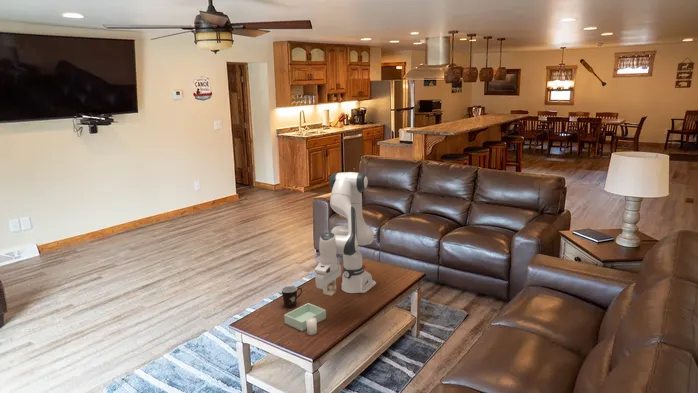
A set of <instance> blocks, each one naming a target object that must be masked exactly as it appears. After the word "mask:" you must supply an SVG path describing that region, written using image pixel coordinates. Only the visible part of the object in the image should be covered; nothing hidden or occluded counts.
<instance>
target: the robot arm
mask: <svg viewBox="0 0 698 393" xmlns="http://www.w3.org/2000/svg"><path fill="white" fill-rule="evenodd" d="M328 183H329V188H330V189H331V193H330V198H329V199H330V200H329V205H330V208H331V209H332V210H333V212H335V213H336V214H337V215H340V216H342V217H344V218H345V219H346V220H347V225H338V226H334V227H333V228H332V229H331V231H330V232H329V231H328V232H325V233H321V235H320V236H319V244H318V247H319V248H318V252H319V262H318V264H317V265H316V267H315V268H314V273H315V278H314V280H315V287H316V288H317V289H321V290H323V289H324V292H325V293H327V292H328V289H327V285H328V284H330V283H331V282H335V283H337V279H338V278H339V277H341V275H342V278H341V279H342V282H341V284H340V285H341V290H342V291H343V292H345V293H348V294H358V293H360V294H361V293H362V294H363V293H368V292H369V291H370V289H372V288H373V287H374V286H376V284H377V282H376V281H375V280H373V277H372V274H371V273H369V272H368V271H366V270H365V269H367V268H368V265H367V264H363V255H362V253H361V251H360V250H359V249H358V248H359V246H368V245H371V244H372V243H373V242H374V240H375V232H374V230H373V229H372V228H371V227H370V226H369V225H368V224H367V223H366V222H365V219H364V216H363V195H362V194H363V192H365V190H366V189H367V187H368V183H369V181H368V177H367V175H366V173H363V172H353V171H348V172H345V171H343V172H334V173H332V174H331V175H330V177H329V181H328ZM337 255H342V260H343V265H342V266H341V263H340V260H339V259H338V257H337Z"/></svg>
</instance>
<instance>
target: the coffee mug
mask: <svg viewBox="0 0 698 393" xmlns="http://www.w3.org/2000/svg"><path fill="white" fill-rule="evenodd" d="M299 290H300V292H299V294H298V291H299ZM281 293H282V294H281V295H282V299H283V305H284V308H285V307H286V309H293V308H296V307H297V299H298V298H299V297H301V295H302V293H303V289H302V288H300V287H296V286H294V285H288V286H284V287H282V288H281ZM297 295H298V296H297Z"/></svg>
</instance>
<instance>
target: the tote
mask: <svg viewBox="0 0 698 393" xmlns="http://www.w3.org/2000/svg"><path fill="white" fill-rule="evenodd" d="M310 317H314V318H316V320H317V324H319V323H321V322H323V321H324V320H327V310H326V309H324V308H322V307H321V306H317V305H314V304H312V303H309V302H307V303H306V304H305V303H304V304H303V305H301V306H299V307H297V308H295V309H293V310H291V311H289V312H287V313H284V316H283V318H284V324H285V325H287V326H289V327H291V328H293V329H296V330H298V331H300V332H304V331H307V323H306V319H307V318H310Z"/></svg>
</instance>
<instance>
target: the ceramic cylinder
mask: <svg viewBox="0 0 698 393" xmlns="http://www.w3.org/2000/svg"><path fill="white" fill-rule="evenodd" d="M306 323H307V329H306V334H307V335H309V336H314V335H317V334H318V326H317V325H318V323H317V320H316V318H314V317H310V318H307V319H306Z"/></svg>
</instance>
